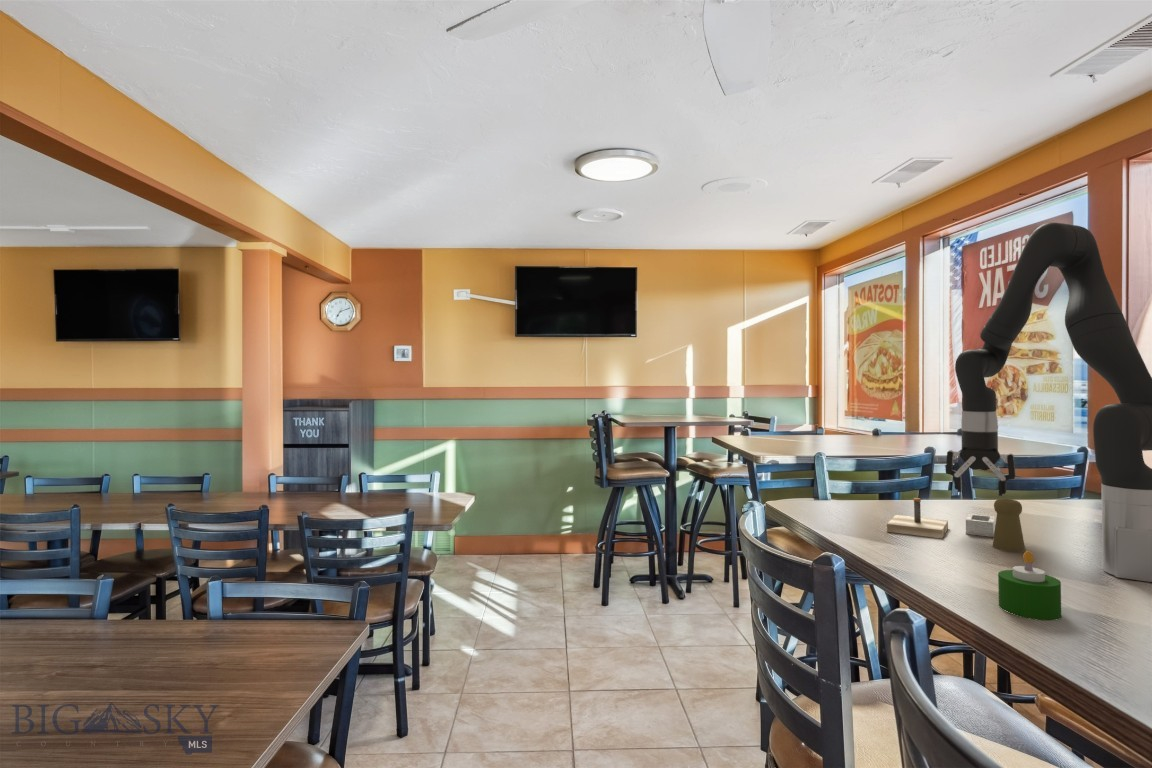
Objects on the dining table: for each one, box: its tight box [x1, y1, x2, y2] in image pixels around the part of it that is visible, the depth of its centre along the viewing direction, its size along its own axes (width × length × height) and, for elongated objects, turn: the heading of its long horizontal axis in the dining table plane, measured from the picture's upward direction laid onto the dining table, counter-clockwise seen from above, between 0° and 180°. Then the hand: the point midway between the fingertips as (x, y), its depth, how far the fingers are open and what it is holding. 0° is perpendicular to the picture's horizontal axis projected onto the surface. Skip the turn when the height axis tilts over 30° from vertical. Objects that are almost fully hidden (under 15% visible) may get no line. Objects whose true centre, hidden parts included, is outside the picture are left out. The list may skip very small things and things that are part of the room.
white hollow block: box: [965, 513, 996, 538], centre depth 148 cm, size 8×6×4 cm
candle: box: [997, 550, 1062, 621], centre depth 98 cm, size 8×8×10 cm
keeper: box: [886, 497, 949, 539], centre depth 151 cm, size 12×12×8 cm
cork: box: [992, 498, 1026, 553], centre depth 134 cm, size 6×6×11 cm
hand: (980, 493), depth 148 cm, fingers open, 8 cm apart
